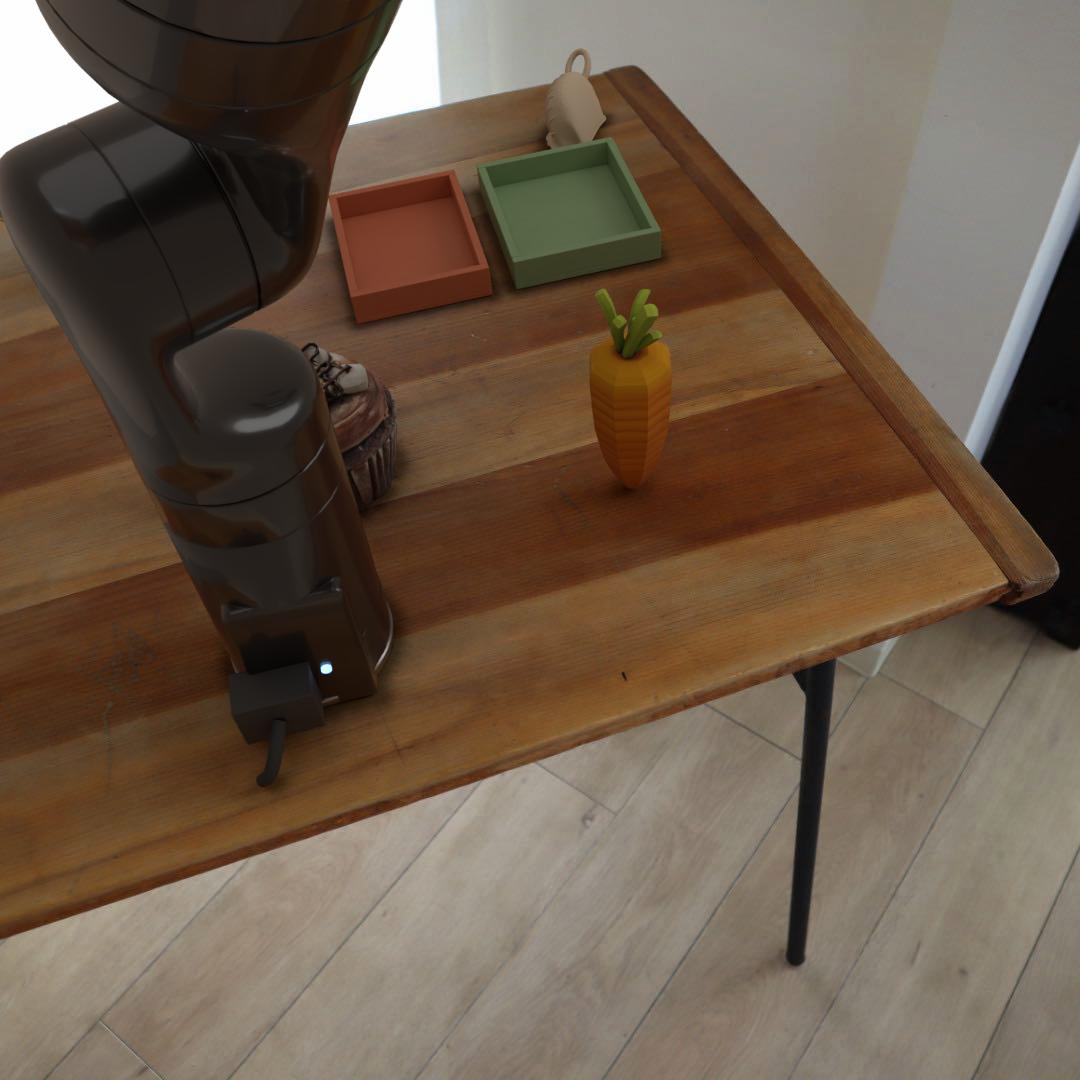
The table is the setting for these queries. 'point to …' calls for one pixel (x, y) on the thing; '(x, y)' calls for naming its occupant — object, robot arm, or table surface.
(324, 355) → the cupcake
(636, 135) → the table surface
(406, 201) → the terracotta tray
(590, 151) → the green tray
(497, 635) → the table surface
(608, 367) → the carrot
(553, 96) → the decorative ornament
